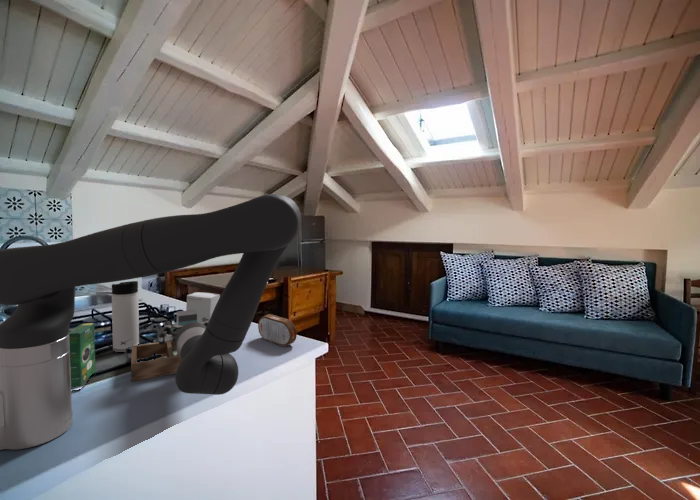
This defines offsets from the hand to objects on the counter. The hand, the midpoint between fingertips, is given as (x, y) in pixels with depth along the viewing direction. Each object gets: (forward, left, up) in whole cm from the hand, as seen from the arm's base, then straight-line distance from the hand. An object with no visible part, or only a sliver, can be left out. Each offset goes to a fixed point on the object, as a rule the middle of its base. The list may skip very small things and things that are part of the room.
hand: (186, 323), depth 88 cm
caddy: (-4, 0, -10) cm, 11 cm away
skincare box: (+6, +14, -11) cm, 19 cm away
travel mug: (-14, +16, -11) cm, 24 cm away
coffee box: (-22, -2, -11) cm, 24 cm away
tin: (+26, +2, -11) cm, 28 cm away
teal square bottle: (0, 0, -9) cm, 9 cm away
